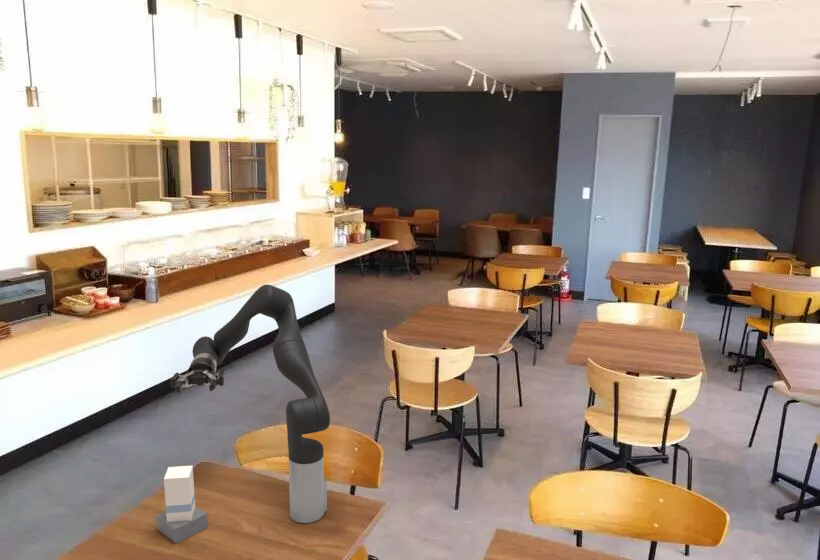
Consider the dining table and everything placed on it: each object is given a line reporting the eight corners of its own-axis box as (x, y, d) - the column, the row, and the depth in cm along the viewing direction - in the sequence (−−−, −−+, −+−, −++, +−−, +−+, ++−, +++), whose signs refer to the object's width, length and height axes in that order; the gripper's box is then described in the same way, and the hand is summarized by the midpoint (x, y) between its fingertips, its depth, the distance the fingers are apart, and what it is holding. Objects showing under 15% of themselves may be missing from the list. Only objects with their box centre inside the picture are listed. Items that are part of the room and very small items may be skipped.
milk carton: (171, 508, 167) (168, 467, 164) (195, 506, 168) (192, 465, 165) (166, 522, 161) (163, 479, 158) (191, 520, 162) (189, 477, 159)
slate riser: (188, 514, 171) (187, 501, 170) (207, 527, 166) (206, 513, 165) (157, 529, 164) (156, 515, 164) (175, 543, 159) (174, 529, 158)
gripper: (177, 358, 188) (166, 377, 173) (226, 355, 191) (220, 374, 175) (178, 381, 190) (168, 403, 174) (227, 379, 193) (222, 400, 177)
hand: (194, 388), depth 175 cm, fingers open, 8 cm apart
